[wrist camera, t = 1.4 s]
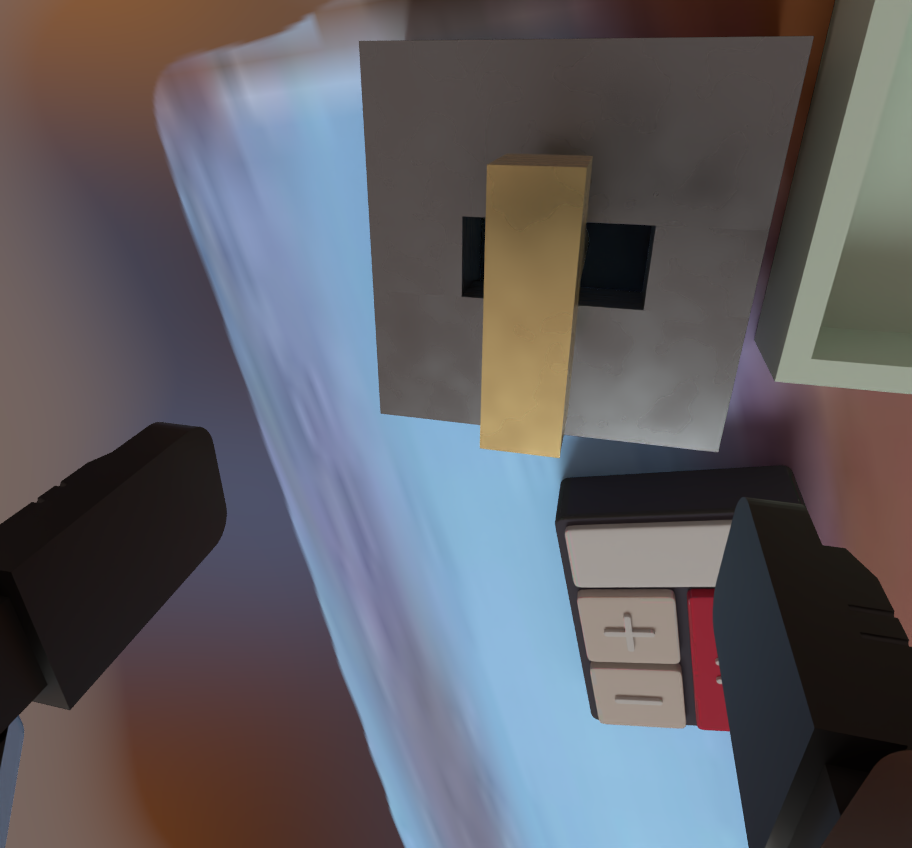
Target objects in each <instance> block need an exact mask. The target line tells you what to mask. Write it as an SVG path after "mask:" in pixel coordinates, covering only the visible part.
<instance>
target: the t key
mask: <svg viewBox="0 0 912 848" xmlns="http://www.w3.org/2000/svg"><path fill="white" fill-rule="evenodd" d="M592 160H593V156H586V155H548V154H510V153H507V154H505V155H503V156H502V157H500V158H498V159H496V160H494V161H492V162H491V163H489V164H487V183H486V223H485V263H484V303H483V343H482V383H481V423H480V448H482V449H490V450H499V451H507V452H515V453H523V454H531V455H539V456H547V457H555V458H560V453H561V447H562V442H563V436H564V431H565V426H566V420H567V415H568V406H569V396H570V385H571V375H572V365H573V355H574V344H575V334H576V324H577V314H578V303H579V293H580V283H581V275H582V271H583V267H584V263H585V259H586V255H587V251H588V247H589V234H588V230H587V228H586V221H587V211H588V201H589V190H590V180H591V170H592Z"/></svg>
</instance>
